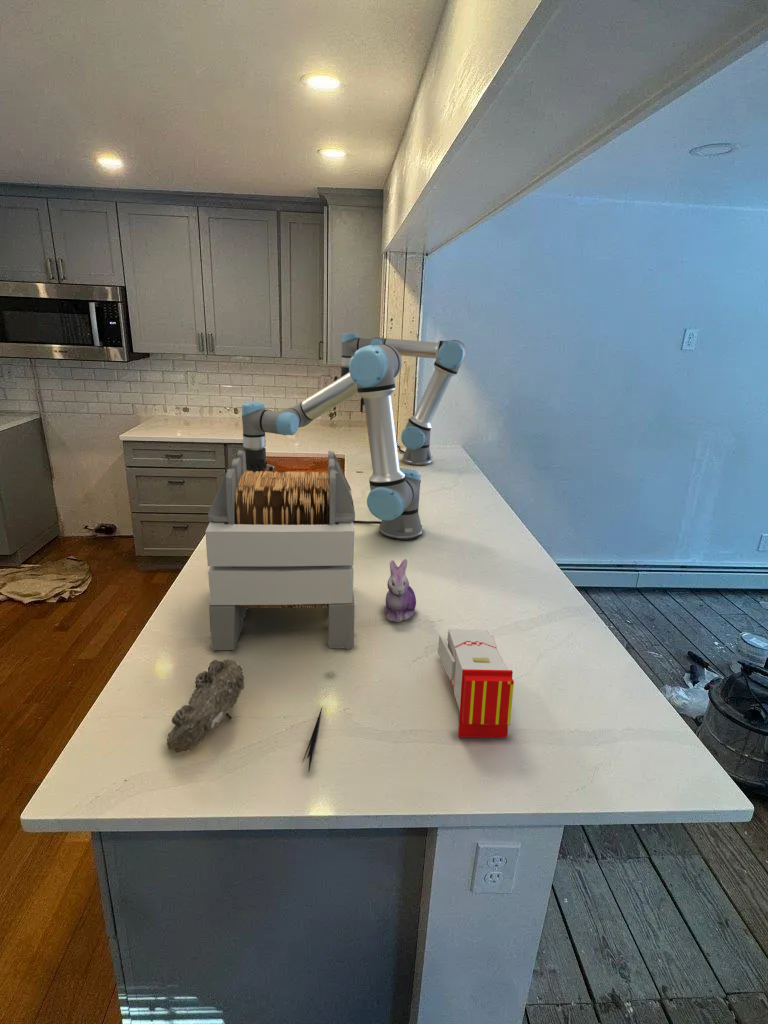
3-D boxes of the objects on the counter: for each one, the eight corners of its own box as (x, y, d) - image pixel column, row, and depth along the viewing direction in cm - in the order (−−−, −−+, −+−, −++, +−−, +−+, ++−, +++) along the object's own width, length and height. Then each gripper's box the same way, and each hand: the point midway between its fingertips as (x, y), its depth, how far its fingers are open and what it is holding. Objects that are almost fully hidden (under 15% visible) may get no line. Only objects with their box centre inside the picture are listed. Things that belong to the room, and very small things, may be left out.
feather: (331, 679, 122) (336, 673, 122) (307, 777, 96) (313, 769, 95) (324, 675, 122) (329, 669, 121) (298, 772, 95) (304, 764, 95)
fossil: (192, 660, 117) (244, 628, 112) (224, 691, 120) (276, 661, 115) (142, 746, 98) (202, 712, 93) (182, 779, 101) (242, 748, 96)
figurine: (392, 627, 141) (395, 572, 136) (374, 608, 149) (376, 556, 144) (425, 619, 145) (429, 566, 140) (405, 601, 154) (408, 550, 149)
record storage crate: (231, 583, 159) (223, 441, 145) (347, 582, 163) (350, 443, 149) (209, 653, 127) (196, 479, 114) (354, 649, 131) (359, 481, 117)
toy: (488, 613, 130) (523, 677, 101) (484, 667, 133) (517, 744, 104) (435, 612, 130) (455, 676, 101) (432, 666, 133) (451, 743, 103)
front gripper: (283, 447, 198) (285, 509, 206) (232, 443, 200) (235, 505, 208) (277, 452, 191) (278, 516, 199) (224, 448, 193) (227, 511, 201)
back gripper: (375, 367, 275) (374, 411, 283) (325, 364, 278) (325, 407, 286) (373, 368, 268) (371, 413, 276) (321, 365, 271) (321, 410, 279)
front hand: (256, 510), depth 204 cm, fingers closed on box, 6 cm apart
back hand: (348, 410), depth 281 cm, fingers open, 13 cm apart
